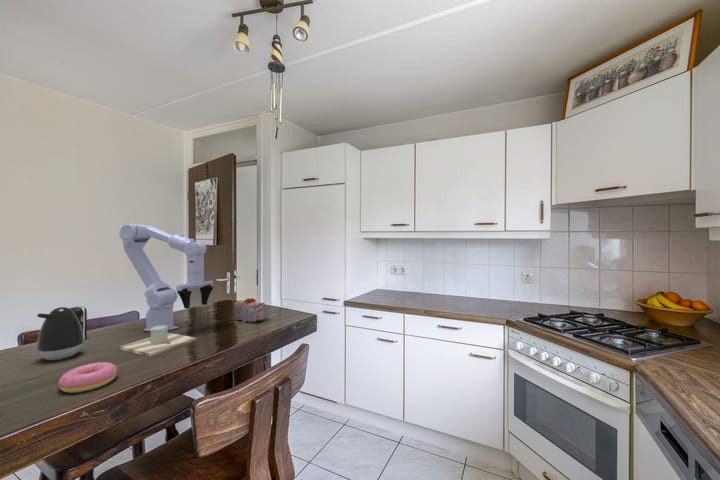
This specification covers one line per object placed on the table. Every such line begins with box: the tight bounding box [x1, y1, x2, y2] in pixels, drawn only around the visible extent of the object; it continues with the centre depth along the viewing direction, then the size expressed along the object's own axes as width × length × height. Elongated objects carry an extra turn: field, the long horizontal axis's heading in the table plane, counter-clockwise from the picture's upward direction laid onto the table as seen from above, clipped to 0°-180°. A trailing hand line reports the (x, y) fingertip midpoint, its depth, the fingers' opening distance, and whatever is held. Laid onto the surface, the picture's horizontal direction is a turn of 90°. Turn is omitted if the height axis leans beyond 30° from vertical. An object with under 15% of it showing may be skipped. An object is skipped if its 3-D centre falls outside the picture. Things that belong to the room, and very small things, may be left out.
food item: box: [233, 297, 266, 323], centre depth 134 cm, size 14×8×10 cm, turn 68°
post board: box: [118, 332, 198, 358], centre depth 103 cm, size 16×16×4 cm
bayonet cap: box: [150, 325, 169, 344], centre depth 103 cm, size 5×6×5 cm
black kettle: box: [36, 306, 85, 361], centre depth 92 cm, size 10×10×15 cm
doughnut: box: [58, 361, 119, 394], centre depth 75 cm, size 11×11×4 cm
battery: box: [68, 306, 88, 340], centre depth 109 cm, size 7×4×11 cm, turn 61°
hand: (195, 306), depth 120 cm, fingers open, 7 cm apart
